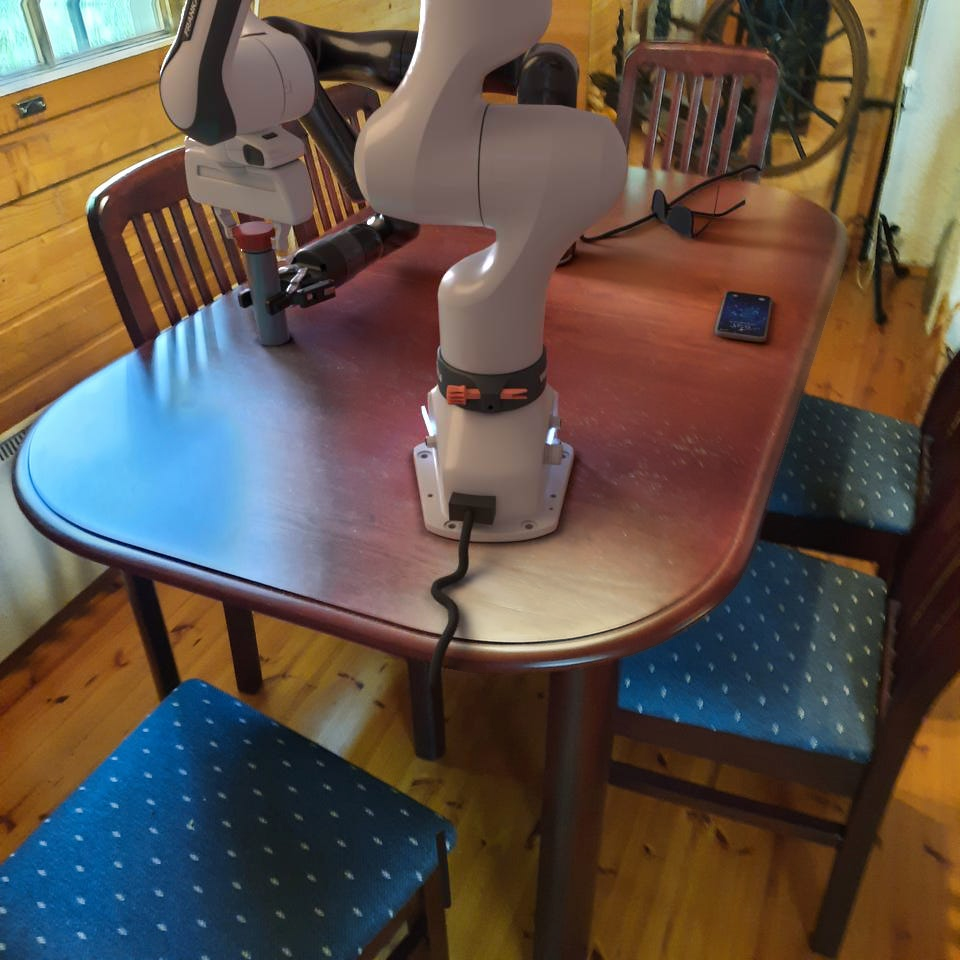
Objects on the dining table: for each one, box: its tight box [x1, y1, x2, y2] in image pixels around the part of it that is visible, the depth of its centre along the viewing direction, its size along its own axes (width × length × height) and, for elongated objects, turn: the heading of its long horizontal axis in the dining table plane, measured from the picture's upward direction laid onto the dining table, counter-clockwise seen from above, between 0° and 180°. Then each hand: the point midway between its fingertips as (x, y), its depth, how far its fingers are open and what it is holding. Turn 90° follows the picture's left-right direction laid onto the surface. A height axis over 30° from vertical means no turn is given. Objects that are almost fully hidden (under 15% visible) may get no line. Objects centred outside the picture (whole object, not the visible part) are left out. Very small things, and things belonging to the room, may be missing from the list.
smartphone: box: [714, 290, 774, 343], centre depth 128 cm, size 7×1×15 cm
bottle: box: [241, 247, 291, 347], centre depth 122 cm, size 4×4×16 cm
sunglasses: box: [649, 184, 746, 239], centre depth 159 cm, size 17×14×5 cm
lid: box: [235, 220, 276, 251], centre depth 117 cm, size 5×5×2 cm
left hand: (257, 243), depth 118 cm, fingers open, 7 cm apart
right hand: (254, 305), depth 121 cm, fingers closed on bottle, 4 cm apart
